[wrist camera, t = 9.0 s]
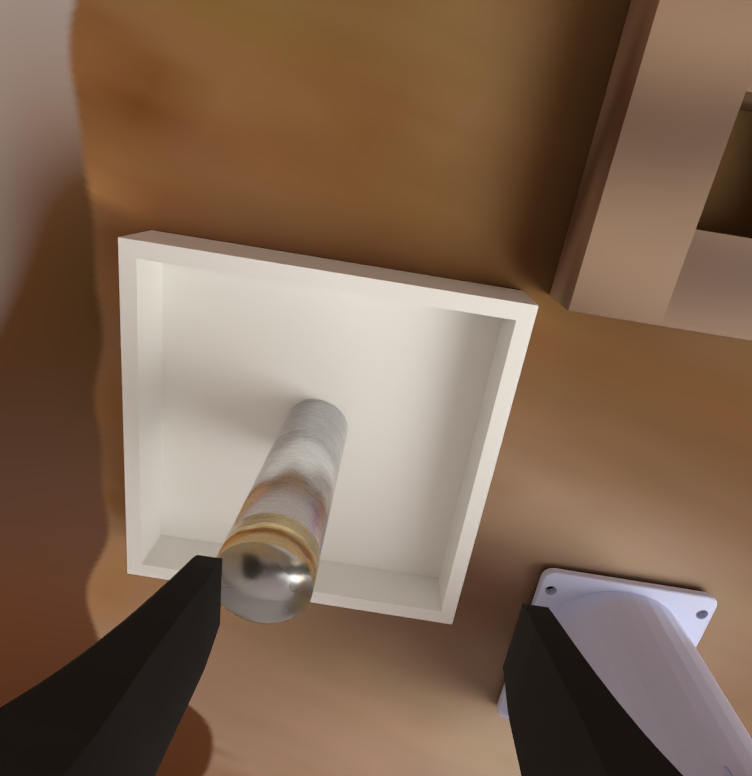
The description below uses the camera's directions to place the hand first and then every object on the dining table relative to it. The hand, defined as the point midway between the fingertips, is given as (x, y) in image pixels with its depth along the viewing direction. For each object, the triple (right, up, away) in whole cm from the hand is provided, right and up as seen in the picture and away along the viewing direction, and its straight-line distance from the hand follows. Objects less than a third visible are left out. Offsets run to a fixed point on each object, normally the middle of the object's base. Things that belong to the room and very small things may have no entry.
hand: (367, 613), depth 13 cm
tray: (-2, +4, +10) cm, 11 cm away
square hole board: (+12, +13, +5) cm, 18 cm away
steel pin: (-2, +4, +9) cm, 10 cm away
